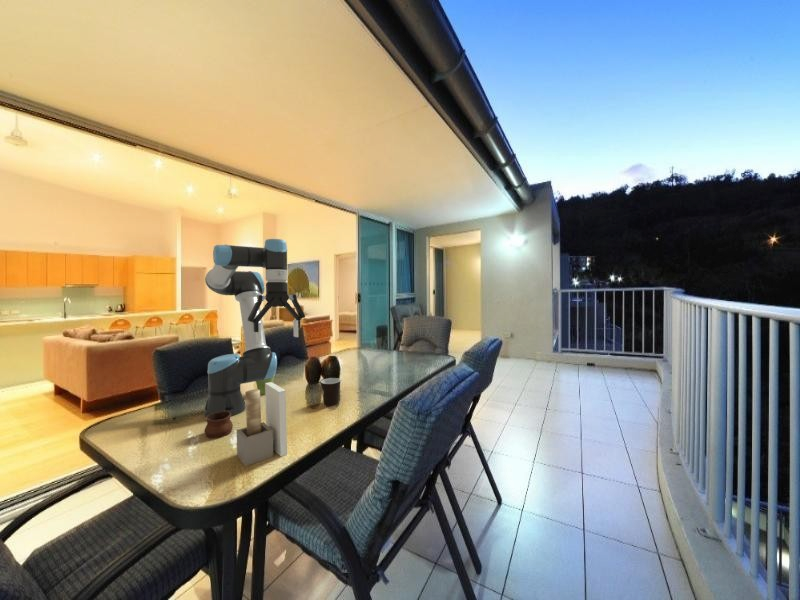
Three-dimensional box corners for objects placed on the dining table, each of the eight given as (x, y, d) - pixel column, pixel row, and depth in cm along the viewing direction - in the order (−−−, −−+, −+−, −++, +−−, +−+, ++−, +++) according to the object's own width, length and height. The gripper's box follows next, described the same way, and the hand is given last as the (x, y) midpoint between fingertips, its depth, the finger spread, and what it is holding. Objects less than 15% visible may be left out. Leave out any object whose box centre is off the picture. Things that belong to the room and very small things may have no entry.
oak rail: (244, 446, 92) (242, 393, 91) (252, 439, 96) (250, 389, 95) (257, 446, 92) (255, 393, 91) (264, 439, 96) (262, 389, 95)
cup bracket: (247, 469, 87) (245, 399, 86) (235, 453, 96) (233, 389, 95) (287, 454, 95) (285, 390, 94) (272, 440, 103) (271, 381, 103)
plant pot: (270, 396, 147) (269, 378, 147) (250, 396, 147) (250, 378, 147) (278, 390, 156) (277, 373, 156) (260, 390, 157) (259, 373, 156)
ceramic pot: (226, 419, 121) (226, 402, 121) (257, 428, 113) (257, 410, 113) (177, 440, 105) (176, 420, 105) (209, 453, 97) (208, 431, 97)
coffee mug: (338, 406, 133) (338, 383, 133) (318, 406, 133) (318, 383, 133) (344, 397, 145) (343, 376, 144) (325, 397, 145) (325, 376, 144)
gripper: (243, 281, 102) (245, 344, 103) (312, 281, 119) (314, 336, 119) (237, 281, 107) (238, 341, 108) (304, 282, 124) (305, 334, 125)
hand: (278, 338), depth 114 cm, fingers open, 13 cm apart
